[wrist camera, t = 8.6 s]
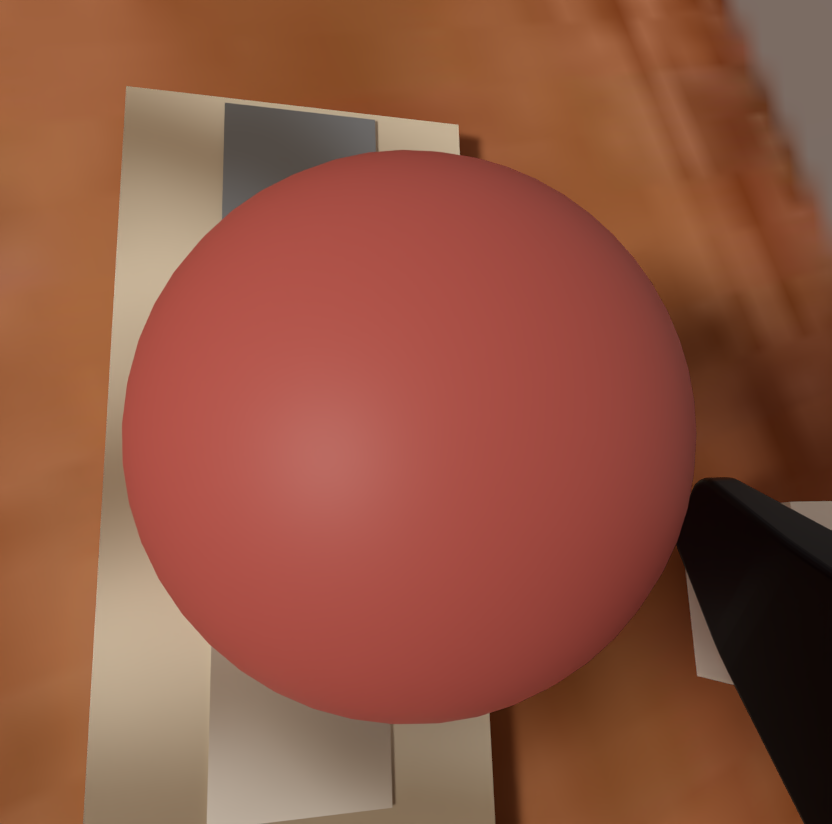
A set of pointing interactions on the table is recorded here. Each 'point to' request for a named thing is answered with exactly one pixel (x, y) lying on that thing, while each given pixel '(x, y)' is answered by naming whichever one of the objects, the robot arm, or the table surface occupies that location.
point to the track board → (138, 582)
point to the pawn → (409, 437)
